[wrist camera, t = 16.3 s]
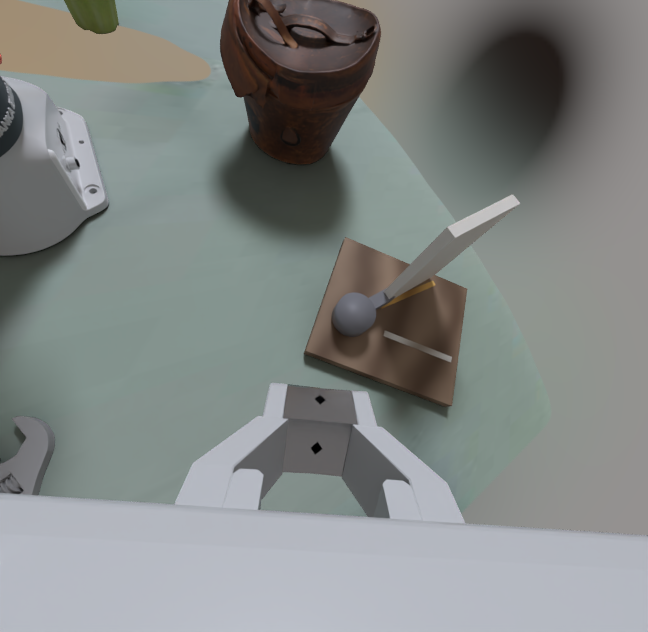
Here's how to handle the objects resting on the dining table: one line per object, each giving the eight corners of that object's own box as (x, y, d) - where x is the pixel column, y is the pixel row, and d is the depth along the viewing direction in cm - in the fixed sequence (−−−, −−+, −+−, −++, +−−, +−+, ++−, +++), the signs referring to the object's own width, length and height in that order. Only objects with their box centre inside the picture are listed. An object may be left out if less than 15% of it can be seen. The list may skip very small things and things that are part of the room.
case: (204, 103, 50) (190, -56, 34) (313, 88, 57) (344, -47, 41) (254, 193, 47) (264, 64, 30) (362, 165, 54) (417, 50, 38)
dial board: (303, 353, 40) (306, 350, 38) (342, 242, 47) (345, 236, 46) (444, 406, 42) (452, 405, 40) (460, 292, 49) (467, 288, 48)
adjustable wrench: (74, 728, 25) (63, 749, 24) (-30, 783, 23) (-50, 809, 21) (55, 412, 32) (45, 411, 30) (-27, 432, 30) (-42, 432, 28)
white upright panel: (345, 343, 39) (407, 289, 25) (324, 310, 40) (371, 239, 26) (440, 287, 46) (532, 218, 32) (420, 259, 47) (500, 180, 32)
